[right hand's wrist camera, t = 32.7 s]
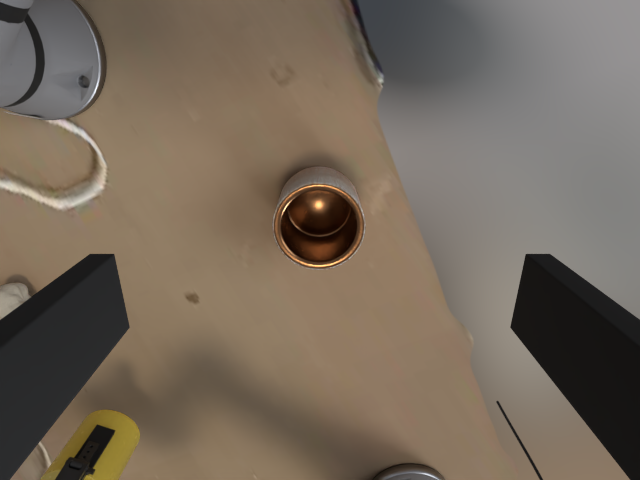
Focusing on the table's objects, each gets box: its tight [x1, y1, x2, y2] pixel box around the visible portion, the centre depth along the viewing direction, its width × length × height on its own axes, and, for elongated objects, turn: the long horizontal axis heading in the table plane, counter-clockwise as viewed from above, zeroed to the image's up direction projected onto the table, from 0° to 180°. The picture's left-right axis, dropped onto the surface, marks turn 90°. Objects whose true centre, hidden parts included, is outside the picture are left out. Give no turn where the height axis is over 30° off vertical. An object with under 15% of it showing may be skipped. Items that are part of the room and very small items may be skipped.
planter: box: [273, 166, 365, 270], centre depth 49 cm, size 11×11×10 cm
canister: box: [40, 410, 140, 480], centre depth 57 cm, size 9×9×10 cm
